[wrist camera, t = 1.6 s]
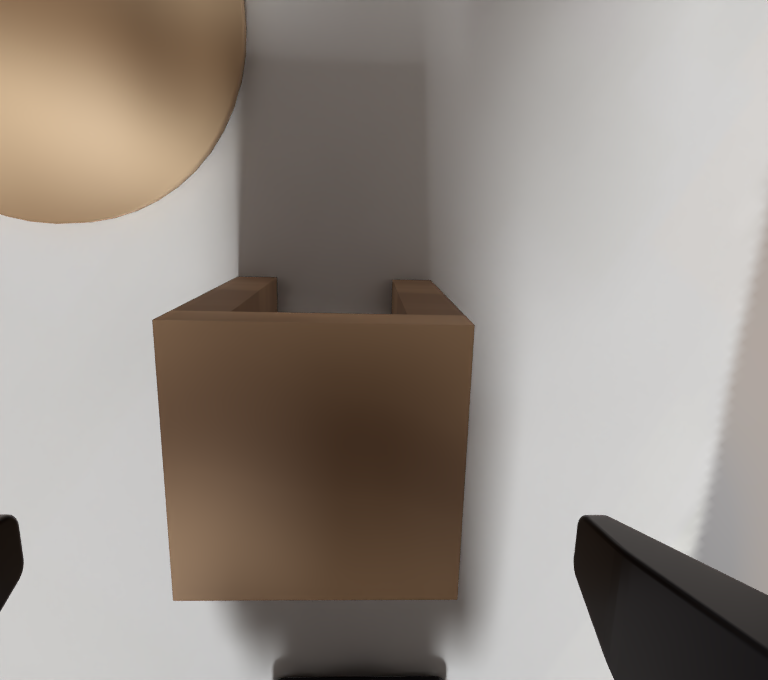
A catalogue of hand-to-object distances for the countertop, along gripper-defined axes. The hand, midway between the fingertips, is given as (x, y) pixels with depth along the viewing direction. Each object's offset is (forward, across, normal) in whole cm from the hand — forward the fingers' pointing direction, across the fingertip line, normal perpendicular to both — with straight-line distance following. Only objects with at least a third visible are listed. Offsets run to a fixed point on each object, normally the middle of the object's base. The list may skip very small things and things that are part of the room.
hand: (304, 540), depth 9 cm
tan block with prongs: (+9, 0, 0) cm, 9 cm away
